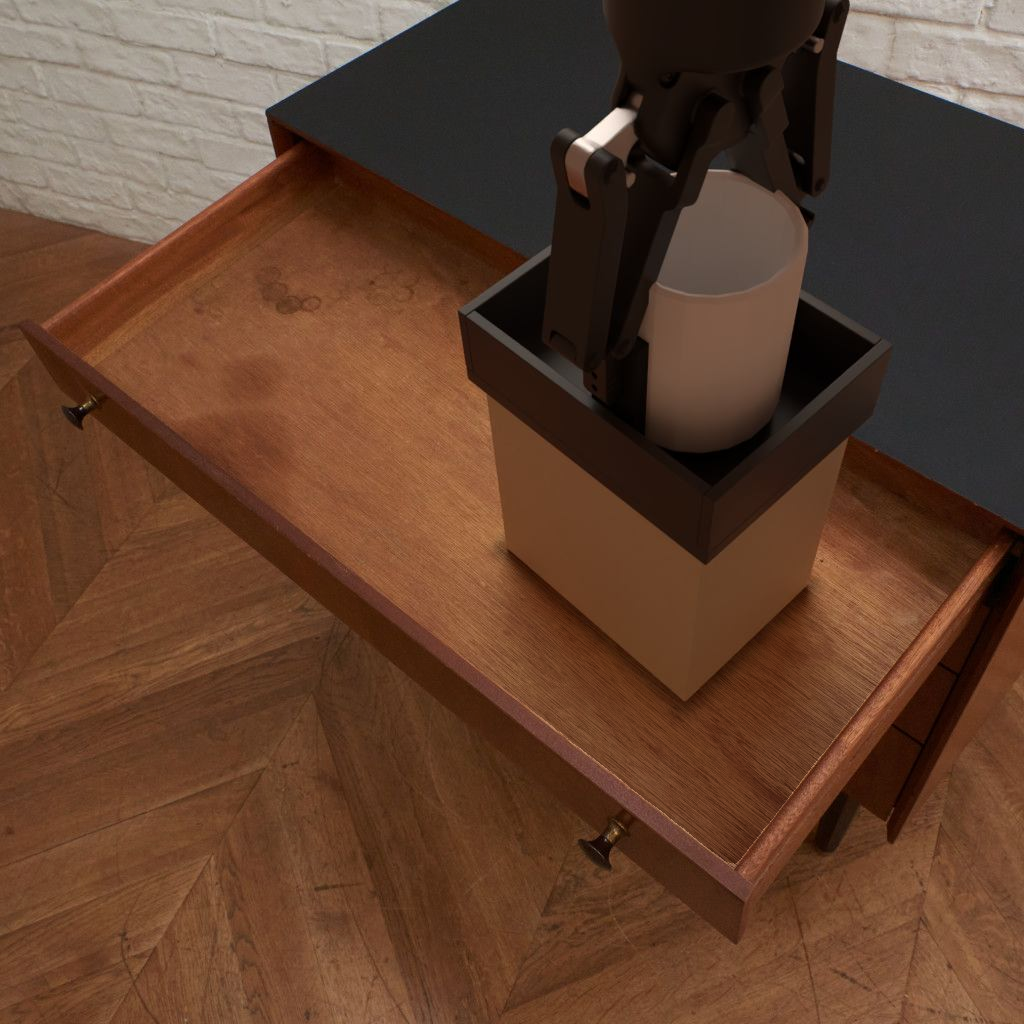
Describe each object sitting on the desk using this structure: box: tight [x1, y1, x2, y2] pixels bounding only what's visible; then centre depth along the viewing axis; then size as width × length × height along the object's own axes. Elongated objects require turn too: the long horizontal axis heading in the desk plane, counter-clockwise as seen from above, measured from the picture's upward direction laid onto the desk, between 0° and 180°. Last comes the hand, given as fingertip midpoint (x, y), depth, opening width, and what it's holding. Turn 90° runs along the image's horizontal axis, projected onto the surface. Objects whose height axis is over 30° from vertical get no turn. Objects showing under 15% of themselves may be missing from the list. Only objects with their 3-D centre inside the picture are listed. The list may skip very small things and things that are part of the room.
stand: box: [485, 393, 850, 703], centre depth 64 cm, size 15×11×16 cm
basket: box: [457, 243, 894, 565], centre depth 55 cm, size 16×12×5 cm
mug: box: [638, 168, 809, 454], centre depth 52 cm, size 8×12×10 cm, turn 45°
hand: (682, 376), depth 55 cm, fingers closed on mug, 8 cm apart
